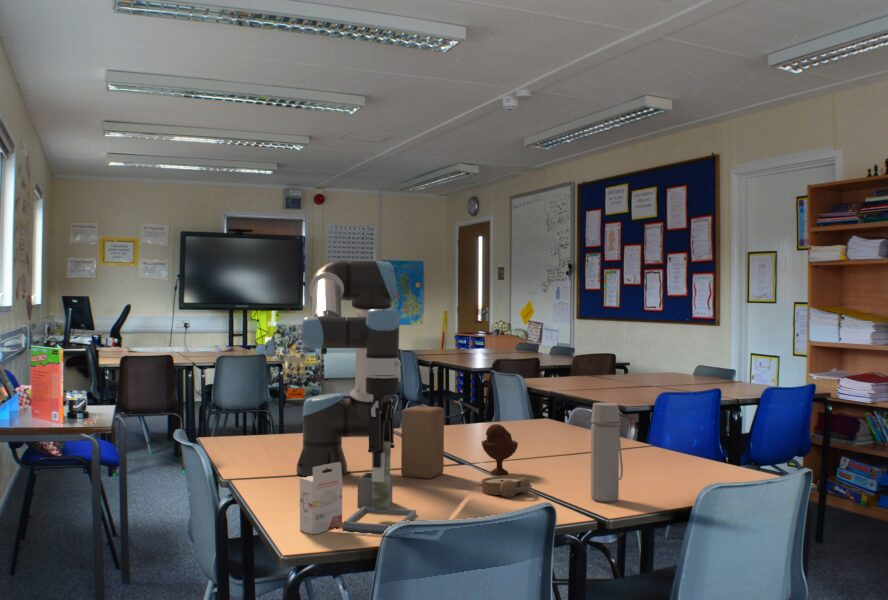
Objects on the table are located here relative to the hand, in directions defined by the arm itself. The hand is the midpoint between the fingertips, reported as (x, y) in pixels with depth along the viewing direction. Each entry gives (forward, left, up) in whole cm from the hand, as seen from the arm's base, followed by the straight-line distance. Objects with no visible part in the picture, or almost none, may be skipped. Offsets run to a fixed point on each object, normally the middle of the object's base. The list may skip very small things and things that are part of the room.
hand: (381, 478), depth 167 cm
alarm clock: (+24, +37, -11) cm, 46 cm away
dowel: (0, 0, -7) cm, 7 cm away
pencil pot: (-5, +13, -10) cm, 18 cm away
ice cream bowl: (+19, +61, -11) cm, 65 cm away
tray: (0, 0, -10) cm, 10 cm away
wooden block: (-3, +53, -11) cm, 54 cm away
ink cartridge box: (-12, -6, -11) cm, 17 cm away
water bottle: (+51, +37, -11) cm, 64 cm away
